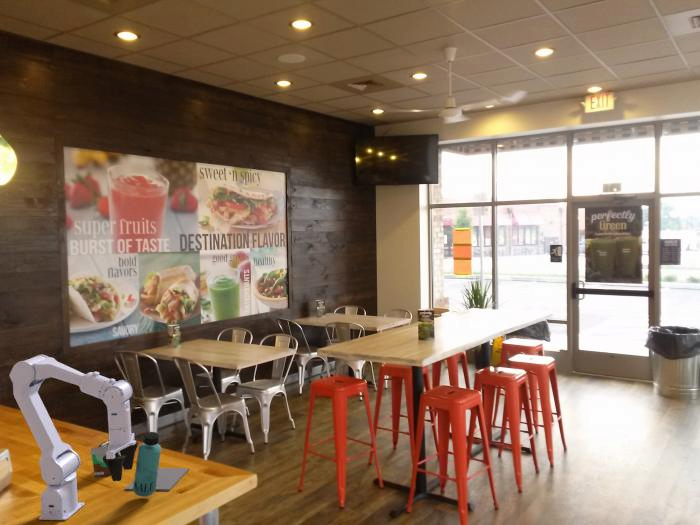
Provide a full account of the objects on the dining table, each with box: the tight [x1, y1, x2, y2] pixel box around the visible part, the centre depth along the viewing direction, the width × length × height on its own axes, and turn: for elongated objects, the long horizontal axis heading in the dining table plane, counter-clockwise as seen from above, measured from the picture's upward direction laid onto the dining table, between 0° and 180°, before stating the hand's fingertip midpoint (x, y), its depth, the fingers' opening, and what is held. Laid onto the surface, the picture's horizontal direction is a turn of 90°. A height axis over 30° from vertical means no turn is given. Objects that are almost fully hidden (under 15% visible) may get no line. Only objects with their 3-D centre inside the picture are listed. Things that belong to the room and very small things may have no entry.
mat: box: [124, 467, 190, 492], centre depth 185 cm, size 16×14×1 cm
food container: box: [89, 440, 121, 478], centre depth 192 cm, size 12×6×10 cm, turn 168°
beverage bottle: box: [132, 431, 162, 497], centre depth 170 cm, size 6×7×20 cm
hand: (122, 474), depth 164 cm, fingers open, 7 cm apart
